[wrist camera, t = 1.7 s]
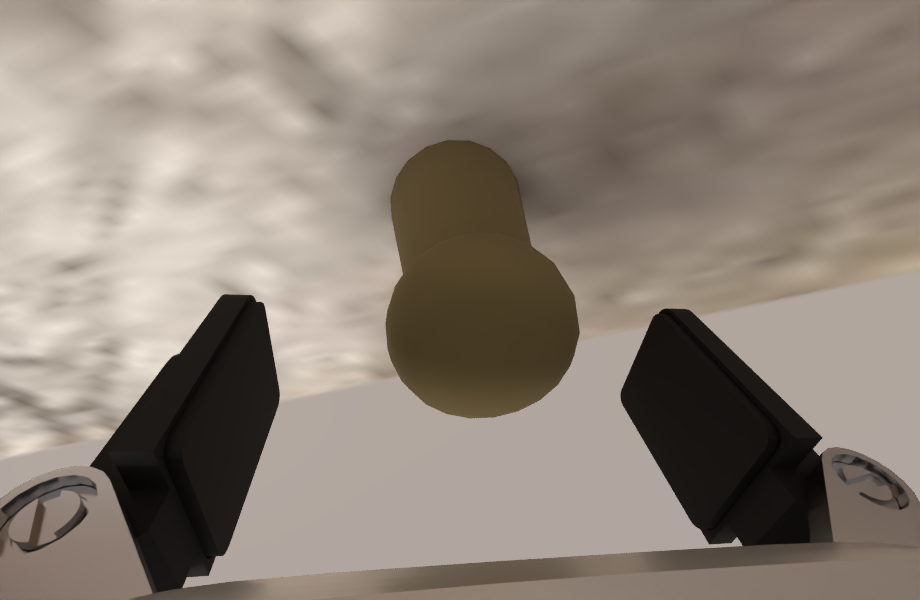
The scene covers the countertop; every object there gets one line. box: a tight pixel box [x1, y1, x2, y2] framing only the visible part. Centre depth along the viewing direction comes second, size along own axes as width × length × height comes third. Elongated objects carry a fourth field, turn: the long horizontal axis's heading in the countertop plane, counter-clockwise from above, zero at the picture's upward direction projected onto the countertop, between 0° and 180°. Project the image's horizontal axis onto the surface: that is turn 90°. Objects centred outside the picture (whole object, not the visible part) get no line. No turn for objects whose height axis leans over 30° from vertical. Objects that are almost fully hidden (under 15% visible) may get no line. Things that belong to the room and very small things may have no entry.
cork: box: [386, 140, 580, 418], centre depth 14 cm, size 6×6×11 cm
